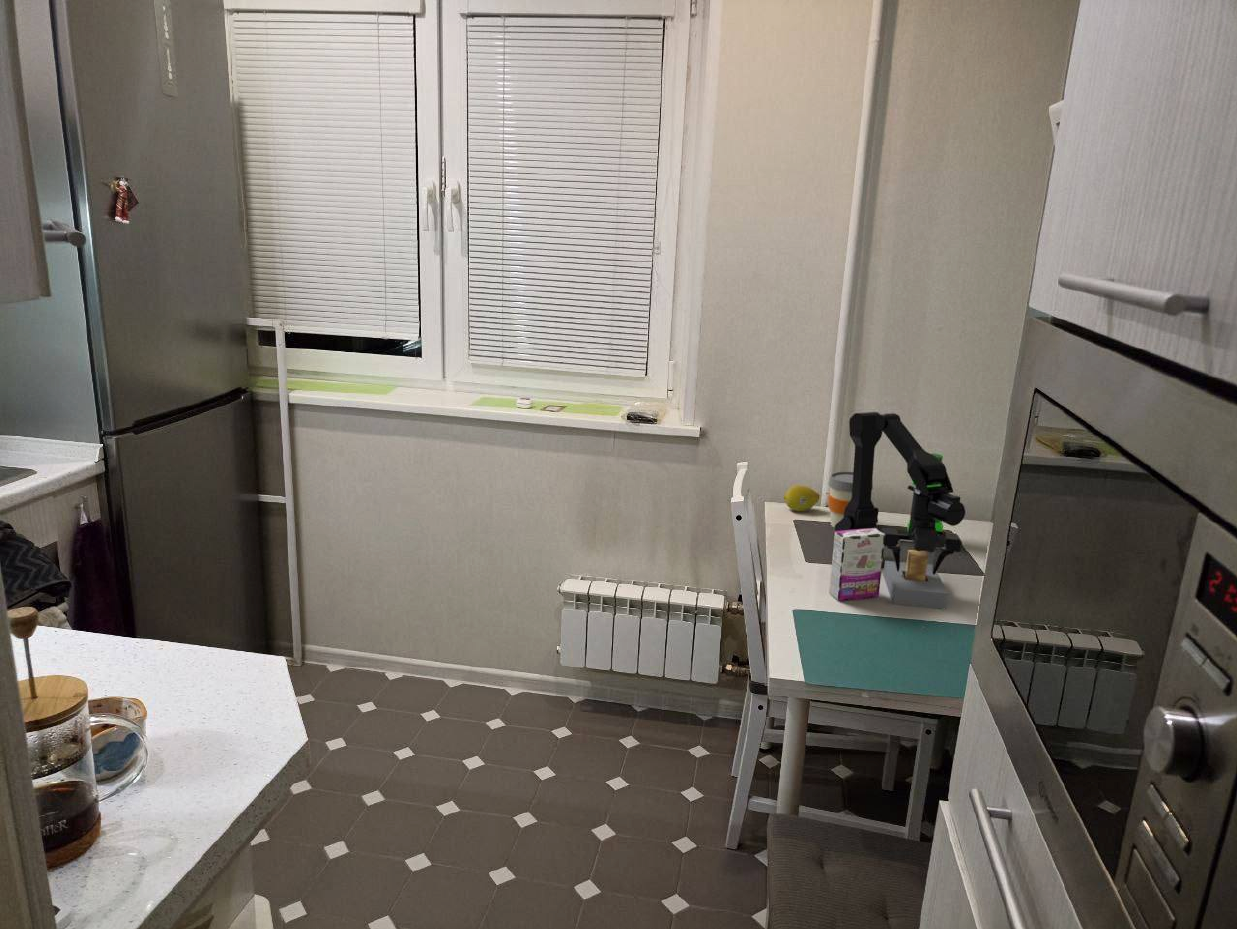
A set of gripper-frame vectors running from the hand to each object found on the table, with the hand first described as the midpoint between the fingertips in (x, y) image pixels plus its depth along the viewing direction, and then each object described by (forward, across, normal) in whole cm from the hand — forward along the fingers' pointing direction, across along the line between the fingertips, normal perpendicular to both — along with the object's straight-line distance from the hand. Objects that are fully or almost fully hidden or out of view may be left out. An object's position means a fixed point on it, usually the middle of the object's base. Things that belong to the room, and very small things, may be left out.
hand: (915, 572), depth 221 cm
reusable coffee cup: (+5, -12, +46) cm, 48 cm away
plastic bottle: (+5, +9, +39) cm, 40 cm away
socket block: (+5, 0, 0) cm, 5 cm away
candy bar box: (+5, -15, -6) cm, 17 cm away
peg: (+5, 0, 0) cm, 5 cm away
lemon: (+5, -25, +57) cm, 62 cm away
